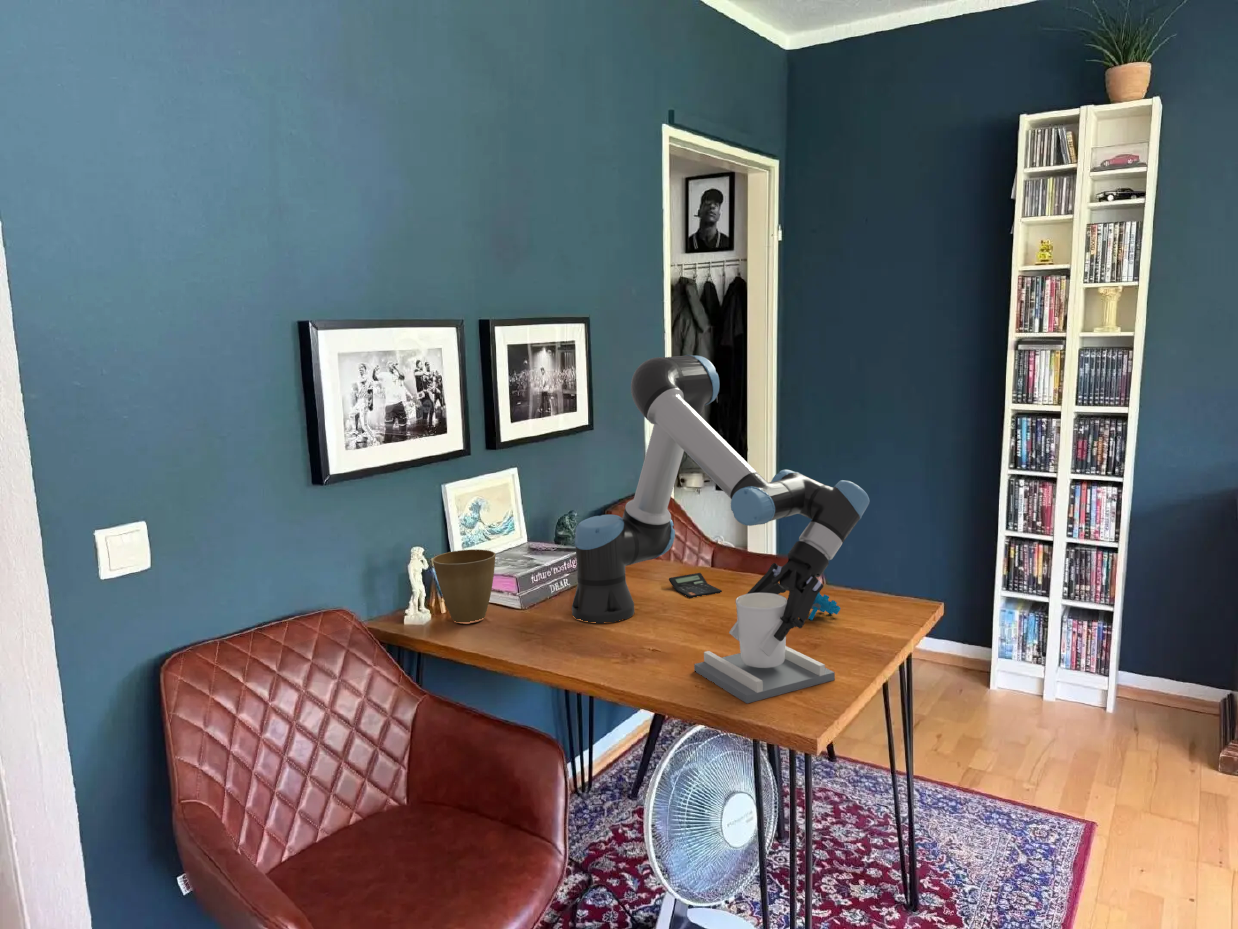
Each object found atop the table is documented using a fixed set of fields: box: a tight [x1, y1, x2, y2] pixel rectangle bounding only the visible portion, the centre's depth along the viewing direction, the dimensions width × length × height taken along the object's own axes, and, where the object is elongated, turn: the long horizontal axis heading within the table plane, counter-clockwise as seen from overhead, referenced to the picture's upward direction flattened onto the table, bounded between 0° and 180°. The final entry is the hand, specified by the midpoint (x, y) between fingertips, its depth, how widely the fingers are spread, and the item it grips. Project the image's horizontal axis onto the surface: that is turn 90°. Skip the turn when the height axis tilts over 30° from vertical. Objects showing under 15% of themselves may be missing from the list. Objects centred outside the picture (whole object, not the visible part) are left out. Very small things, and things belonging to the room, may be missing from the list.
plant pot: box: [432, 548, 496, 622], centre depth 207 cm, size 15×15×16 cm
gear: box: [807, 591, 841, 621], centre depth 198 cm, size 11×6×10 cm
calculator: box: [668, 572, 723, 599], centre depth 225 cm, size 9×12×3 cm
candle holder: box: [735, 593, 788, 668], centre depth 165 cm, size 10×10×12 cm
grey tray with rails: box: [693, 645, 836, 704], centre depth 166 cm, size 20×18×4 cm
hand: (748, 644), depth 164 cm, fingers closed on candle holder, 9 cm apart
